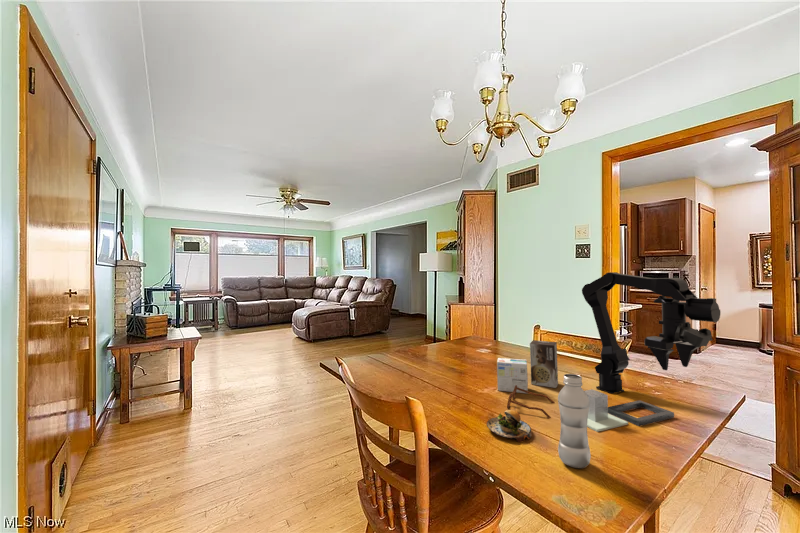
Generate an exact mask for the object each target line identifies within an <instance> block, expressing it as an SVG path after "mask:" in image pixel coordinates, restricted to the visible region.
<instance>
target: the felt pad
mask: <svg viewBox="0 0 800 533" xmlns="http://www.w3.org/2000/svg"><path fill="white" fill-rule="evenodd" d="M627 425H629V422H628V421H625V420H623V419H621V418H618V417H616V416H614V415H611V414H609V413H608V419H607V420H602V421H598V422H594V421H592V420H590V419H588V421H587V429H588V428H589V429H590V430H592V431H594V432H596V433H597V432H603V431H607V430H611V429H614V428H615V429H616V428H618V427H619V428H620V427H624V426H627Z"/></svg>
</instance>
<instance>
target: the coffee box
mask: <svg viewBox="0 0 800 533" xmlns="http://www.w3.org/2000/svg"><path fill="white" fill-rule="evenodd" d="M557 346H558V342H556V341H546V340H534V339H532V341H531V342H530V343H529V350H530V351H529V352H530V353H529V356H530V357H529V358H530V359H529V360H530V384H531V385H532V384H533V386H540V387H547V388H554V389H557V388H558V385H559V372H558V347H557Z"/></svg>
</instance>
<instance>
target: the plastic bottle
mask: <svg viewBox="0 0 800 533" xmlns="http://www.w3.org/2000/svg"><path fill="white" fill-rule="evenodd" d="M562 384H564V385H563V387H562V388H561V389H560V391H559V392H558V395H557V403H558V409H559V416H560V417H559V418H560V434H559V440H558V446H557V452H558V457H559V459H560V461H561V462H562V463H563V464H564V465H567V466H568V467H571V468H574V469H584V468H587V466H589V464H590V462H591V457H592V455H591V450H590V444H589V438H588V437H589V434H588V427H587V421H588V412H589V405H590V401H589V398H588V396H587V394H586V393H585V392H584V391H585V390H584V389H583V378H582V376H581V375H580V374H575V373H565V374H563V383H562Z"/></svg>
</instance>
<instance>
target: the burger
mask: <svg viewBox="0 0 800 533" xmlns="http://www.w3.org/2000/svg"><path fill="white" fill-rule="evenodd" d="M517 406H518V405H517V404H515V408H514V409H506V410H505V411H504V412H503V413H504V415H505V416H503V414H502V413H499V414H498V416H497V417H496V416H495V417H492V418H490V419H489V420H488V421H487V422H486V426H487V428H488V429H489V430H490V431H491V432H493V433H494V434H496V435H497V436H500V437H502V438H503V437H504V438H508V439H515V440H516V442H517V443H522V442H525V439H526V438H527V440H530V439H531V438H532V434H533V433H532V427H531V426H530V425H529V424H528V423H527V422H525V421H524V420H522V419H521V414H520V413H518V411H516V408H517Z"/></svg>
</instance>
